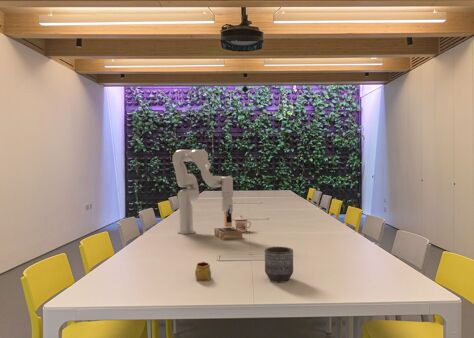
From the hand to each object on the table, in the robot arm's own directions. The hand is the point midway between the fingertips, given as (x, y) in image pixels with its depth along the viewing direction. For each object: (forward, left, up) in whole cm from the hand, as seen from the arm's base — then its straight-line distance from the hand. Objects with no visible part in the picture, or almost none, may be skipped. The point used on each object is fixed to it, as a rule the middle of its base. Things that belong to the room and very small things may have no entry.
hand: (227, 221), depth 265 cm
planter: (+99, -11, -11) cm, 100 cm away
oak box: (0, 0, -10) cm, 10 cm away
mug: (+83, -40, -11) cm, 93 cm away
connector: (0, 0, -3) cm, 3 cm away
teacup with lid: (-16, +17, -11) cm, 26 cm away
